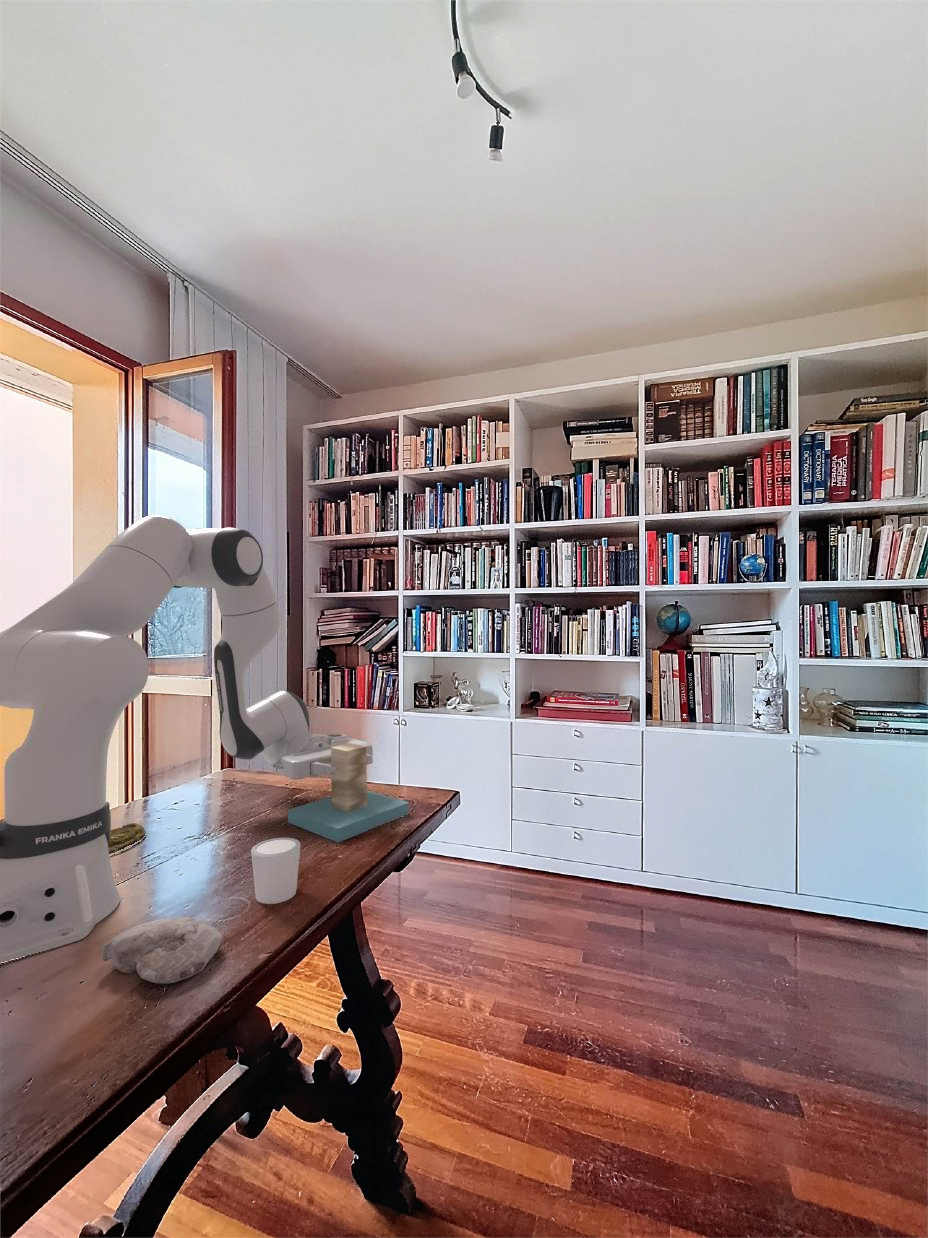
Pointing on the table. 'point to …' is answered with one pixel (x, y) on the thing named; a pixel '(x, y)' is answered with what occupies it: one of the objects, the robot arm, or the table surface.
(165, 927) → the fossil
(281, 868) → the shot glass
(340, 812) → the teal board
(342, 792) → the birch block
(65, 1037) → the table surface
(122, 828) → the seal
